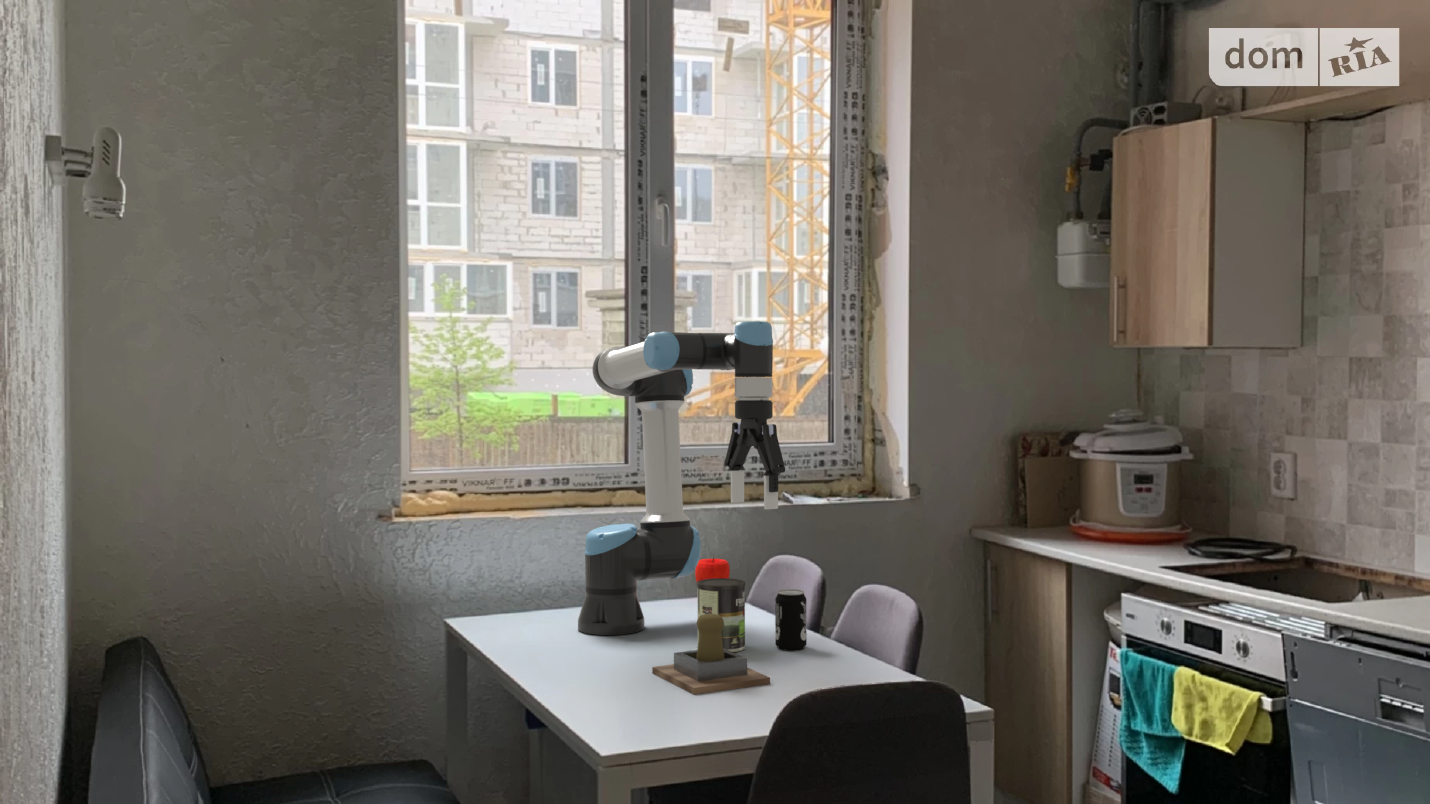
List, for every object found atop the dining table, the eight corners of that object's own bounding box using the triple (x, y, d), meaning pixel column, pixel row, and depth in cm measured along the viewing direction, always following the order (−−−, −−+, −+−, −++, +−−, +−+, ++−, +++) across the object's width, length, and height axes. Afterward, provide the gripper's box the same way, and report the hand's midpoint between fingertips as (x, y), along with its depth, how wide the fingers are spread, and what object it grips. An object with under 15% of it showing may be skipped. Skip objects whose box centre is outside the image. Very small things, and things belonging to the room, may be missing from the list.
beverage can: (797, 652, 253) (797, 595, 253) (769, 649, 257) (769, 592, 257) (811, 646, 259) (811, 590, 259) (784, 643, 262) (784, 587, 262)
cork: (730, 669, 234) (730, 612, 234) (720, 677, 228) (720, 618, 228) (700, 667, 236) (700, 610, 236) (690, 674, 230) (689, 616, 230)
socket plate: (652, 673, 236) (652, 650, 236) (725, 663, 244) (724, 641, 244) (693, 694, 220) (693, 670, 220) (770, 683, 228) (770, 660, 228)
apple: (692, 602, 310) (692, 560, 310) (698, 596, 318) (698, 555, 318) (727, 603, 308) (727, 560, 308) (732, 597, 317) (732, 555, 317)
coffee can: (749, 643, 262) (749, 578, 262) (740, 654, 252) (740, 586, 252) (702, 641, 264) (702, 577, 264) (692, 652, 254) (691, 585, 254)
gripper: (802, 399, 233) (803, 510, 233) (740, 397, 255) (740, 499, 255) (768, 400, 229) (769, 512, 230) (708, 398, 252) (708, 500, 252)
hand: (753, 505), depth 243 cm, fingers open, 13 cm apart
